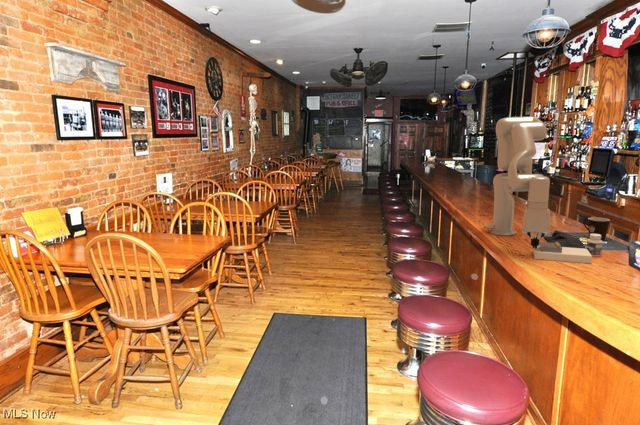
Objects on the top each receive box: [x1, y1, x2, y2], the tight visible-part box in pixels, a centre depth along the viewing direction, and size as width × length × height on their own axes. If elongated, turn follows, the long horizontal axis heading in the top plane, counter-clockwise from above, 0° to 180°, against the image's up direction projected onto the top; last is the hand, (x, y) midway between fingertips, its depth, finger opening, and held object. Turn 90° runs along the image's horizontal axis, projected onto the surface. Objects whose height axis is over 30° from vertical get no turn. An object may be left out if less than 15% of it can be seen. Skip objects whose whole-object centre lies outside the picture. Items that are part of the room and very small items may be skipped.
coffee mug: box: [582, 216, 611, 242], centre depth 190 cm, size 12×9×10 cm
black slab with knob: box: [543, 229, 587, 249], centre depth 183 cm, size 15×22×5 cm
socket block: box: [532, 246, 593, 264], centre depth 165 cm, size 20×11×3 cm, turn 66°
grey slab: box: [539, 241, 562, 253], centre depth 166 cm, size 8×8×3 cm
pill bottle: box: [586, 234, 603, 258], centre depth 166 cm, size 5×5×9 cm
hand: (534, 247), depth 169 cm, fingers closed
